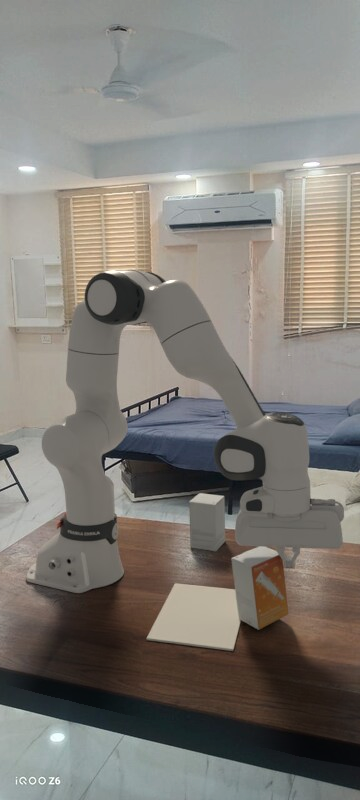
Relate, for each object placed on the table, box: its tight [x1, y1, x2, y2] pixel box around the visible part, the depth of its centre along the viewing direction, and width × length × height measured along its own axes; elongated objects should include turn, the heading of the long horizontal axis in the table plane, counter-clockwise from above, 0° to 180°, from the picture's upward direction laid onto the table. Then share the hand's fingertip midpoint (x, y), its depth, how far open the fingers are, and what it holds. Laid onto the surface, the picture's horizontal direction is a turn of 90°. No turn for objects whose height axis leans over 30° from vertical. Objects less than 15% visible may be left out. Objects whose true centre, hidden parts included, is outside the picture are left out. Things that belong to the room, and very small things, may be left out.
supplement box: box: [188, 492, 226, 552], centre depth 152 cm, size 7×7×13 cm
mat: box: [146, 582, 242, 652], centre depth 119 cm, size 16×22×1 cm
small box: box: [231, 546, 289, 631], centre depth 115 cm, size 8×6×13 cm
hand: (289, 567), depth 113 cm, fingers closed
